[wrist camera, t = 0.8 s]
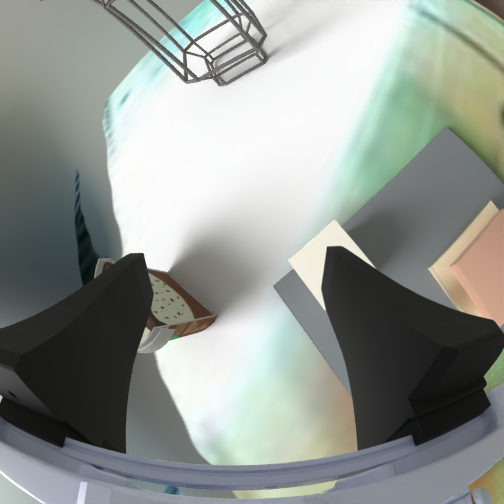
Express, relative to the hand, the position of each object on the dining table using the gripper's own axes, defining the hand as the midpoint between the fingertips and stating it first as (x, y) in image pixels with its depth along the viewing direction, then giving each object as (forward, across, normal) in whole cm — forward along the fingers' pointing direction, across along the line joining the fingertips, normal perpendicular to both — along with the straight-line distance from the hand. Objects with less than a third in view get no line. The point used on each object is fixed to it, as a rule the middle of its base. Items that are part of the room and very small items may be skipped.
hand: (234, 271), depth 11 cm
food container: (+16, +8, +16) cm, 24 cm away
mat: (+7, -16, +6) cm, 19 cm away
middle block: (+2, -19, +3) cm, 20 cm away
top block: (+10, -9, +7) cm, 15 cm away
